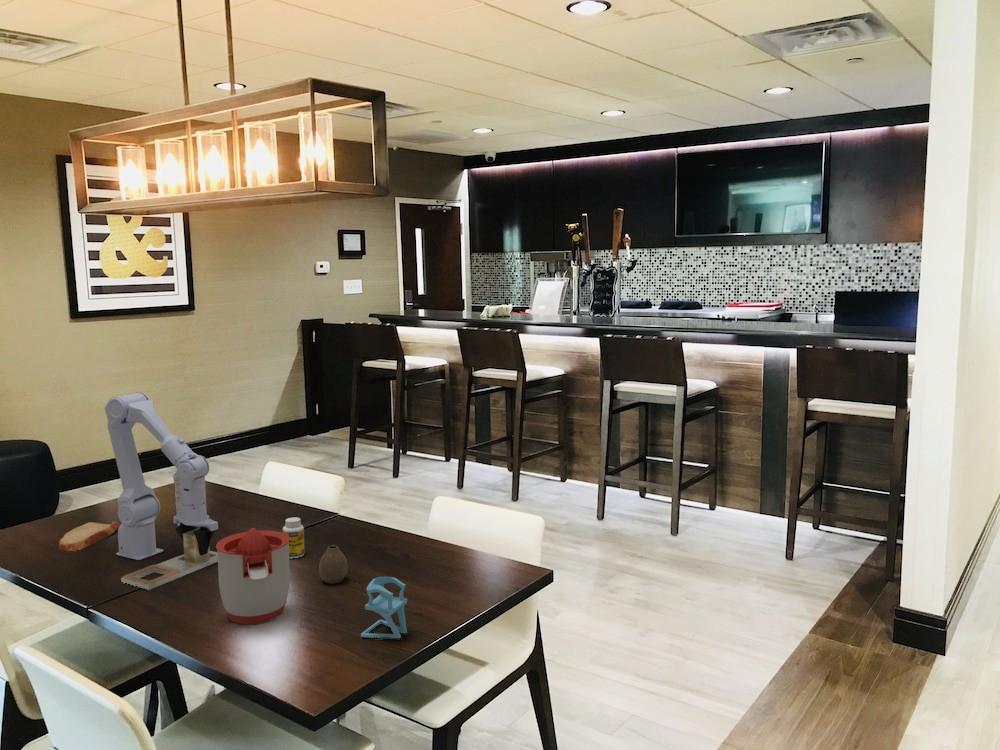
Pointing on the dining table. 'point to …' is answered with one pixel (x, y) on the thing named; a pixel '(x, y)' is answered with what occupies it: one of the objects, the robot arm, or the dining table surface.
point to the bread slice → (86, 535)
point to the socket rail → (167, 571)
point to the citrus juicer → (254, 575)
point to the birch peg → (193, 548)
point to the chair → (386, 607)
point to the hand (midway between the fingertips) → (197, 552)
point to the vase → (333, 565)
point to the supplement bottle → (295, 537)
